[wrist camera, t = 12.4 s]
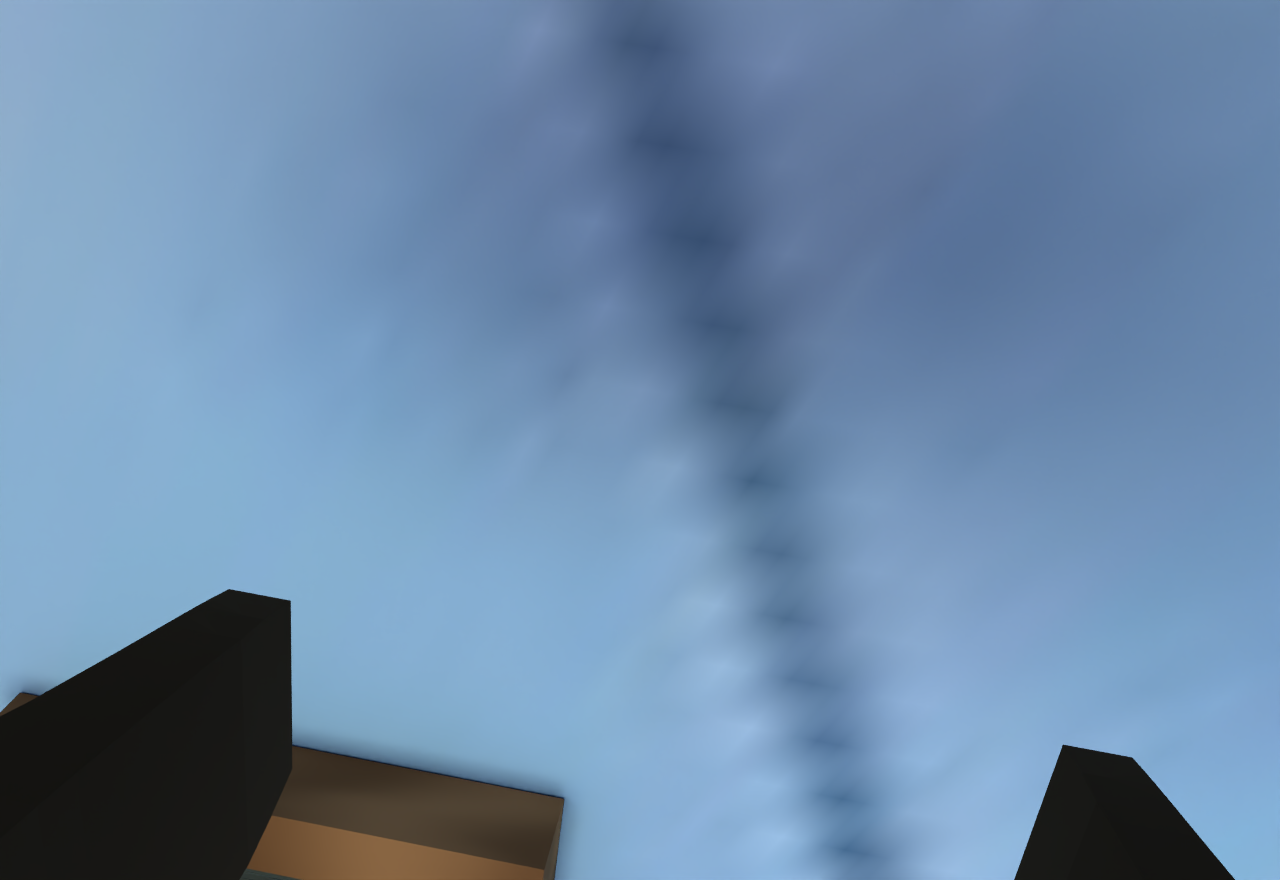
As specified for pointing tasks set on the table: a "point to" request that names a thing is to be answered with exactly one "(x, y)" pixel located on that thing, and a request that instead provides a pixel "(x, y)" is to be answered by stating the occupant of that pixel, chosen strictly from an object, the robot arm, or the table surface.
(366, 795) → the frame
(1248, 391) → the table surface
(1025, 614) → the table surface
